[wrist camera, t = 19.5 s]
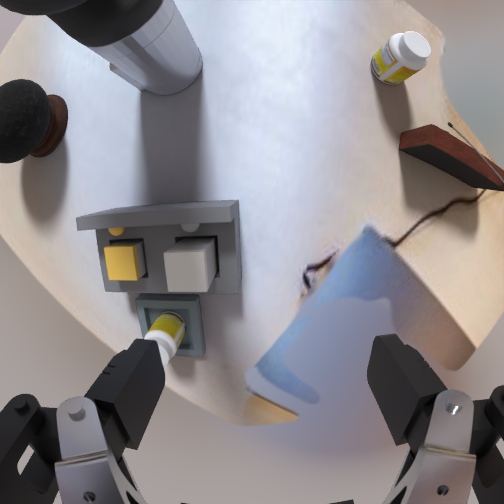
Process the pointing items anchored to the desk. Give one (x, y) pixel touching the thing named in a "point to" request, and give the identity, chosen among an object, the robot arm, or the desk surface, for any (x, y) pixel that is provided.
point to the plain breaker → (191, 264)
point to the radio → (452, 156)
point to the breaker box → (170, 240)
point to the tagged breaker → (126, 259)
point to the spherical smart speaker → (29, 121)
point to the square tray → (182, 305)
